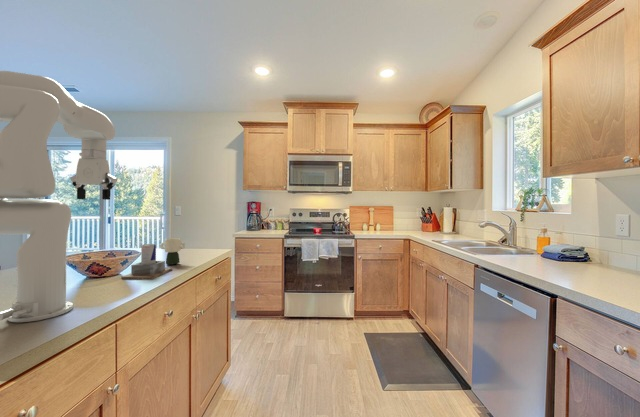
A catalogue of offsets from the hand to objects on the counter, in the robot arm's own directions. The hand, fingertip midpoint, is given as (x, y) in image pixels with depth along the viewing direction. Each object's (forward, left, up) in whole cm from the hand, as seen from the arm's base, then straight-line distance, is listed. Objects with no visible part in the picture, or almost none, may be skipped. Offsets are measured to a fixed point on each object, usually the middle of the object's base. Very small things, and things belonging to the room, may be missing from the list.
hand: (93, 199), depth 106 cm
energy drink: (+11, -15, -32) cm, 37 cm away
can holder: (+11, -15, -32) cm, 37 cm away
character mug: (+31, -15, -32) cm, 47 cm away
